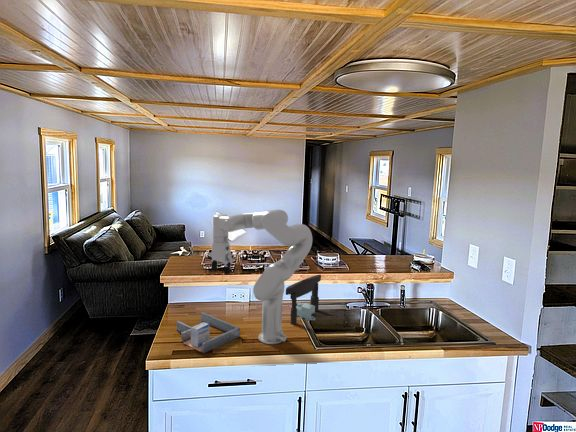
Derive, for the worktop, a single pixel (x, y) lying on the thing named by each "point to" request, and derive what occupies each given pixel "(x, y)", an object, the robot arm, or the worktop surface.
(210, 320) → the bent rail channel
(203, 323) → the medicine box
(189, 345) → the terracotta mat
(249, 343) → the worktop surface
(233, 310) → the worktop surface
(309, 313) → the stool
